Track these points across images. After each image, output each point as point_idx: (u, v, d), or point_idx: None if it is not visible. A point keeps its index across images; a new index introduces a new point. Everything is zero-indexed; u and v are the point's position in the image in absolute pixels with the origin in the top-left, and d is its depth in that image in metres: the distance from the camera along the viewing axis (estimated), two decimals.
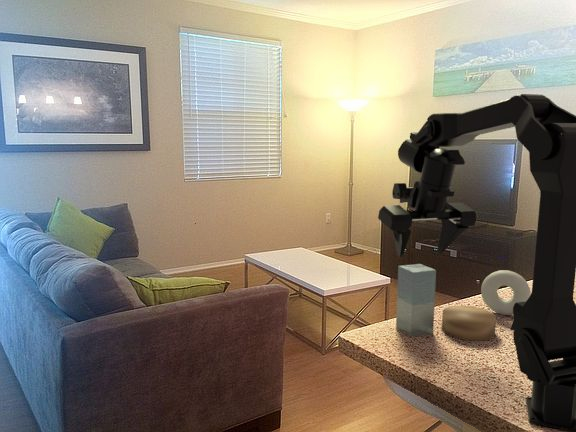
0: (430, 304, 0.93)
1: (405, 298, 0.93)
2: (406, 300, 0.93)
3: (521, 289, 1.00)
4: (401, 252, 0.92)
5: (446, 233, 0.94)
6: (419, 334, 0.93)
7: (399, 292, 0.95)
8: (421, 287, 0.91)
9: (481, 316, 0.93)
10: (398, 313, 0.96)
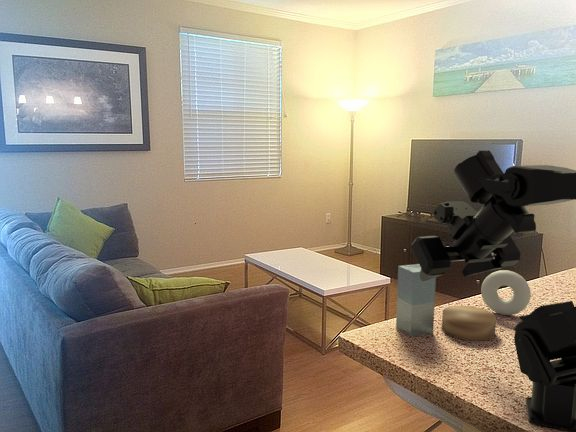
0: (430, 304, 0.93)
1: (405, 298, 0.93)
2: (406, 300, 0.93)
3: (521, 289, 1.00)
4: (425, 280, 0.83)
5: (479, 262, 0.84)
6: (419, 334, 0.93)
7: (399, 292, 0.95)
8: (421, 287, 0.91)
9: (481, 316, 0.93)
10: (398, 313, 0.96)
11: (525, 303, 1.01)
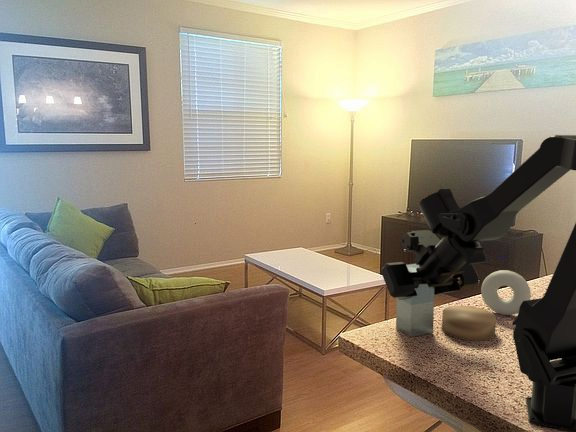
0: (429, 303, 0.93)
1: None
2: (405, 300, 0.93)
3: (521, 290, 1.00)
4: (401, 299, 0.93)
5: (436, 285, 0.93)
6: (419, 334, 0.93)
7: None
8: (420, 287, 0.91)
9: (481, 316, 0.93)
10: (398, 313, 0.96)
11: None
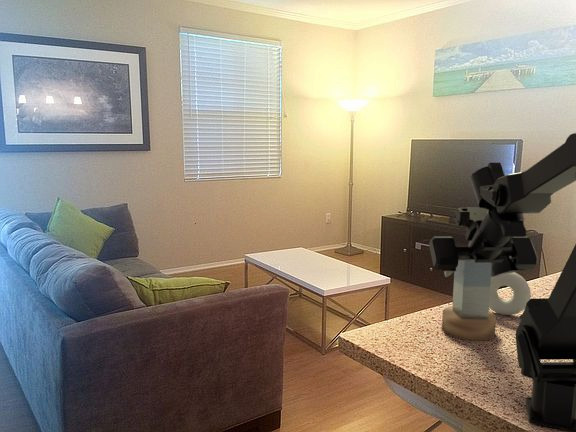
0: (485, 288, 0.91)
1: (459, 279, 0.93)
2: (459, 282, 0.93)
3: (521, 289, 1.00)
4: (446, 275, 0.93)
5: (501, 264, 0.91)
6: (471, 317, 0.92)
7: (455, 274, 0.95)
8: (474, 269, 0.91)
9: None
10: (454, 295, 0.96)
11: (525, 303, 1.01)
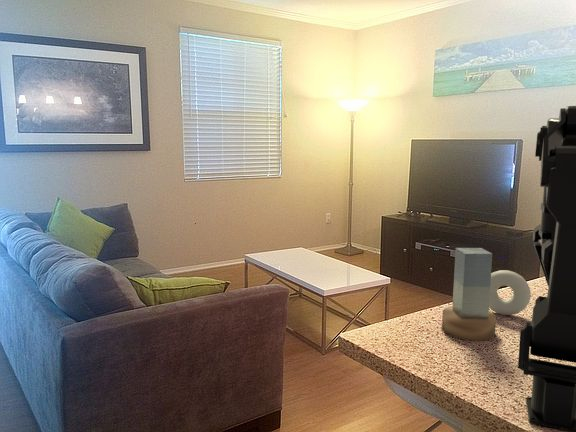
0: (485, 288, 0.91)
1: (459, 279, 0.93)
2: (459, 282, 0.93)
3: (521, 289, 1.00)
4: (545, 277, 0.81)
5: None
6: (471, 317, 0.92)
7: (455, 274, 0.95)
8: (474, 269, 0.91)
9: None
10: (454, 295, 0.96)
11: (525, 303, 1.01)
